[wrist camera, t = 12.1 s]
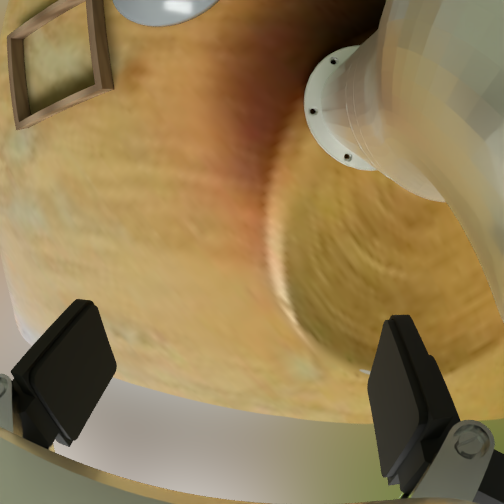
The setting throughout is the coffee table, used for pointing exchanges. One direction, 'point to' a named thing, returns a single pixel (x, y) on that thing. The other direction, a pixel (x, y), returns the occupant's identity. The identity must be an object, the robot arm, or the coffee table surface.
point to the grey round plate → (162, 11)
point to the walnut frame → (97, 54)
